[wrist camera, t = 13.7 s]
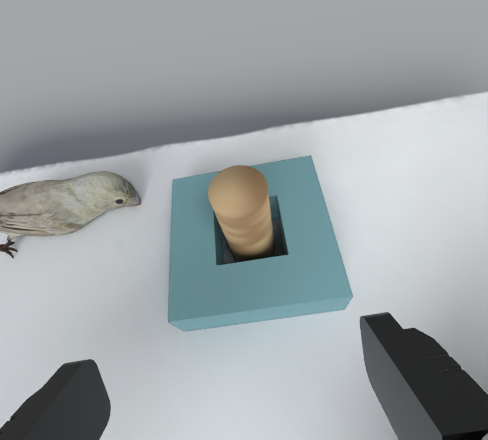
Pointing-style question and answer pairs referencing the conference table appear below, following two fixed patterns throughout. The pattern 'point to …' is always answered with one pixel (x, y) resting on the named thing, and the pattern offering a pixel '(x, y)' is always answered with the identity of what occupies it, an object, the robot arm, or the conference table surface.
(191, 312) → the socket block
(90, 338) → the conference table surface
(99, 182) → the decorative bird
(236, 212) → the peg
